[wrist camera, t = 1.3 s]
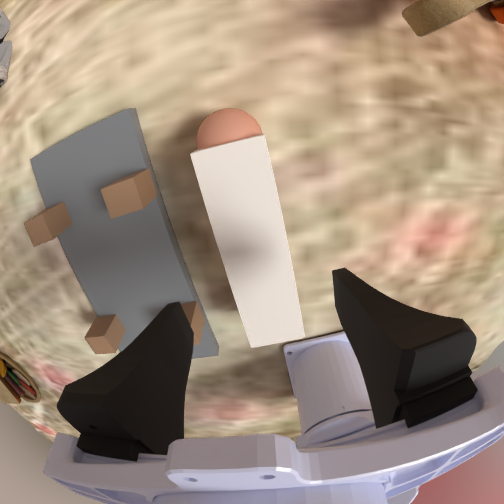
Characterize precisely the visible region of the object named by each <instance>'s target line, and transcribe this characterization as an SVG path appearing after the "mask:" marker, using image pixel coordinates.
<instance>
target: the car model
mask: <svg viewBox="0 0 504 504" xmlns="http://www.w3.org/2000/svg"><path fill="white" fill-rule="evenodd" d="M9 29H10V21H9V19H8V18H7V16H6V15H5V14H4V13H3V10H2V9H1V7H0V87H1V86H2V85H3V84H5V83H6V81H7V77H8V75H7V74H8V69H9V63H10V58H11V52H12V42H11V41H4V42H3V39H4V37H5V36H6V34H7V32H8V31H9Z"/></svg>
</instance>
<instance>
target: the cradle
mask: <svg viewBox="0 0 504 504" xmlns="http://www.w3.org/2000/svg"><path fill="white" fill-rule="evenodd" d="M30 161H31V164H32V168H33V171H34V174H35V177H36V181H37V184H38V187H39V190H40V193H41V195H42V198H43V201H44V204H45V207H46V210H44V211H42V212H41V213H39V214H38V215H36V216H34V217H33V218H31V219H30V220H28V221H27V222H25V223H24V225H25V227H26V230H27V232H28V234H29V237H30V239H31V241H32V244H33V246H34V247H35V246H37V245H40V244H42V243H45V242H47V241H50V240H53V239H54V238H55V237H56V236H57V237H58V239H59V241H60V243H61V246H62V248H63V250H64V252H65V255H66V257H67V259H68V261H69V263H70V265H71V267H72V269H73V271H74V273H75V275H76V277H77V279H78V281H79V283H80V285H81V287H82V289H83V291H84V292H85V294H86V296H87V298H88V300H89V302H90V303H91V305H92V307H93V309H94V310H95V312H96V314H97V316H98V317H96V319H95V321H94V322H93V324H92V326H91V327H90V329H89V331H88V332H87V334H86V336H85V340H86V341H87V343H88V344H89V345H90V347H91V348H92V350H93V351H94V353H95V354H106V353H116V351H117V349H119V351H120V352H121V351H123V350H124V349H125V348H126V347H127V346H128V345H129V344H130V343H131V342H132V341H133V340H134V339H135V338H136V337H137V336H138V335H139V334H140V333H141V332H142V331H143V330H144V329H145V328H146V327H147V326H148V325H149V323H150V322H151V321H152V320H153V319H154V318H155V317H156V316H157V315H158V313H159V312H160V311H161V310H162V309H163V308H164V307H165V306H166V305H167V304H168V303H174V302H180V304H181V306H182V308H183V310H184V313H185V315H186V317H187V319H188V321H189V323H190V326H191V328H192V330H193V332H194V345H193V354H192V359H193V358H202V357H210V356H217V355H218V351H219V346H218V343H217V341H216V339H215V336H214V334H213V332H212V329H211V327H210V325H209V322H208V320H207V317H206V315H205V313H204V310H203V308H202V305H201V303H200V300H199V298H198V295H197V293H196V290H195V288H194V285H193V283H192V280H191V278H190V275H189V272H188V270H187V267H186V264H185V262H184V259H183V256H182V254H181V251H180V248H179V245H178V243H177V240H176V237H175V234H174V232H173V229H172V226H171V223H170V220H169V217H168V214H167V211H166V208H165V205H164V202H163V199H162V196H161V193H160V190H159V187H158V184H157V181H156V178H155V174H154V171H153V168H152V165H151V161H150V158H149V155H148V151H147V148H146V145H145V141H144V138H143V134H142V130H141V127H140V123H139V120H138V116H137V112H136V108H129V109H126V110H124V111H121V112H119V113H117V114H115V115H112V116H110V117H108V118H106V119H104V120H101V121H99V122H97V123H95V124H93V125H91V126H89V127H87V128H85V129H83V130H81V131H79V132H77V133H75V134H73V135H71V136H70V137H68V138H66V139H64V140H62V141H61V142H59V143H57V144H55V145H54V146H52V147H50V148H48V149H47V150H45V151H43V152H42V153H40V154H39V155H37V156H35V157H34V158H32V159H31V160H30Z"/></svg>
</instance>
